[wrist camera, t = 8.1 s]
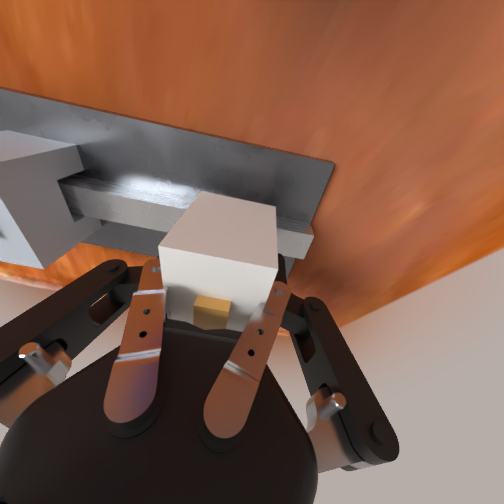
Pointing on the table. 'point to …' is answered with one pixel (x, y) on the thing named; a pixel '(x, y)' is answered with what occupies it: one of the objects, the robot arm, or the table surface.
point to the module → (219, 261)
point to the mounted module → (37, 200)
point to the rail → (166, 173)
